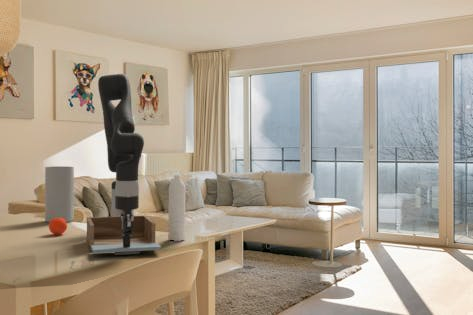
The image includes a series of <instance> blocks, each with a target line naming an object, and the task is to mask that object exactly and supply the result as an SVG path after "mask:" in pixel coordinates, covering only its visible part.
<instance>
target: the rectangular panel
mask: <svg viewBox="0 0 473 315" xmlns="http://www.w3.org/2000/svg"><path fill="white" fill-rule="evenodd" d="M91 249H92V251H93V252H92V254H103V253H114V255H115V256H120V255H121V256H122V255H140V254H141V251H143V252H144V251H159V250H162V246H161V245H160V244H159V243H157V242H156V241H155V242H153V243H131V244H130V247H125V248H124V247H123V244H110V245H91Z"/></svg>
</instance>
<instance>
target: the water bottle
mask: <svg viewBox="0 0 473 315" xmlns="http://www.w3.org/2000/svg"><path fill="white" fill-rule="evenodd" d="M184 176H185V178H192V173H191V174H190V173H186V174H184ZM181 178H182V177H181V174H174V175H173V179H172V181H171V182H170V183H169V186H168V209H167V210H168V223H167V224H168V225H167V226H168V228H167V229H168V230H167V232H168V235H167V239H169V240H168V241H170V240H174V241H173V242H182V241H181V240H184V241H185V240H186V216H187V215H186V194H187V193H186V191H187V190H186V189H187V188H186V185H185V183H184V181H183V180H182V179H181Z"/></svg>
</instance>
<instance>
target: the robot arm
mask: <svg viewBox="0 0 473 315" xmlns="http://www.w3.org/2000/svg"><path fill="white" fill-rule="evenodd" d="M97 82H98V83H97V86H98V93H99V97H100V98H99V99H100V103H101V108H102V114H103V115H102V117H103V127H104V133H105V139H106V148H107V165H108V169H109V171H110V172H112V173H115V181H112V182H111V211H110V212H111V213H110V214H111V216H110V217H116V216H120V219H121V228H122V230H121V231H122V235H123V247H124V248H125V247H130V236H131V235H132V228H133V220H134V216H135V214H134V213H135V212H134V211H135V210H138V208H139V198H140V197H139V194H140V193H139V192H140V189H139V164H140V160H141V156H142V154H143V150H144V146H145V141H144V137H143V136H142V134H140V133H137V132H135V128H136V127H135V123H134V119H133V113H132V93H131V92H132V91H131V84H130V81H129V78H128V76H127V75H126V74H124V73H118V74H109V75H108V74H107V75H102V76H100V77H99V78H98V81H97ZM112 101H119V102H118V103H117V105H116V106H115V104H113V102H112Z"/></svg>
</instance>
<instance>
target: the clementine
mask: <svg viewBox="0 0 473 315" xmlns="http://www.w3.org/2000/svg"><path fill="white" fill-rule="evenodd" d="M48 229H49V231H50V233H52V234H53V235H56V236H60V235H63V234H64V233H65V232H66V231H67V229H68V222H66V221H65V220H64V219H63V218H60V217H56V218H53V219H52V220H51V221H50V223H49V222H48Z"/></svg>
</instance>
